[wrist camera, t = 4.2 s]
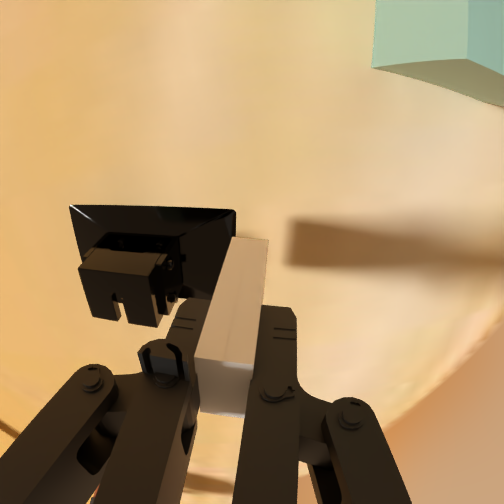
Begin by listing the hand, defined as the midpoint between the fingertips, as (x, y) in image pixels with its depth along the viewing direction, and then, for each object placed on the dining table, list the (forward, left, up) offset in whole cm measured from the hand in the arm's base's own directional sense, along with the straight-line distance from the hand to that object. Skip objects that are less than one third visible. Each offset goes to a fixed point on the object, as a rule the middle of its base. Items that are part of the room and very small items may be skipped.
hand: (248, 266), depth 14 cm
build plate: (+1, -6, -3) cm, 7 cm away
